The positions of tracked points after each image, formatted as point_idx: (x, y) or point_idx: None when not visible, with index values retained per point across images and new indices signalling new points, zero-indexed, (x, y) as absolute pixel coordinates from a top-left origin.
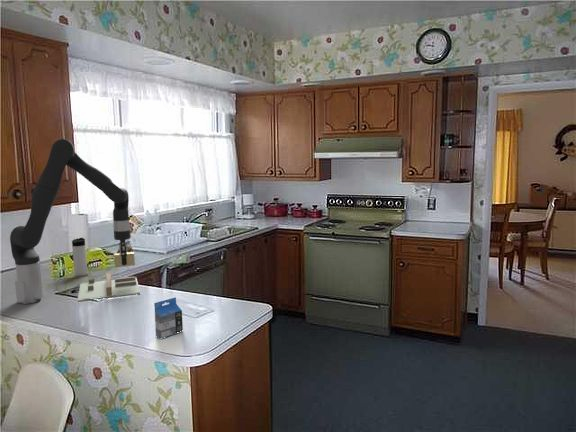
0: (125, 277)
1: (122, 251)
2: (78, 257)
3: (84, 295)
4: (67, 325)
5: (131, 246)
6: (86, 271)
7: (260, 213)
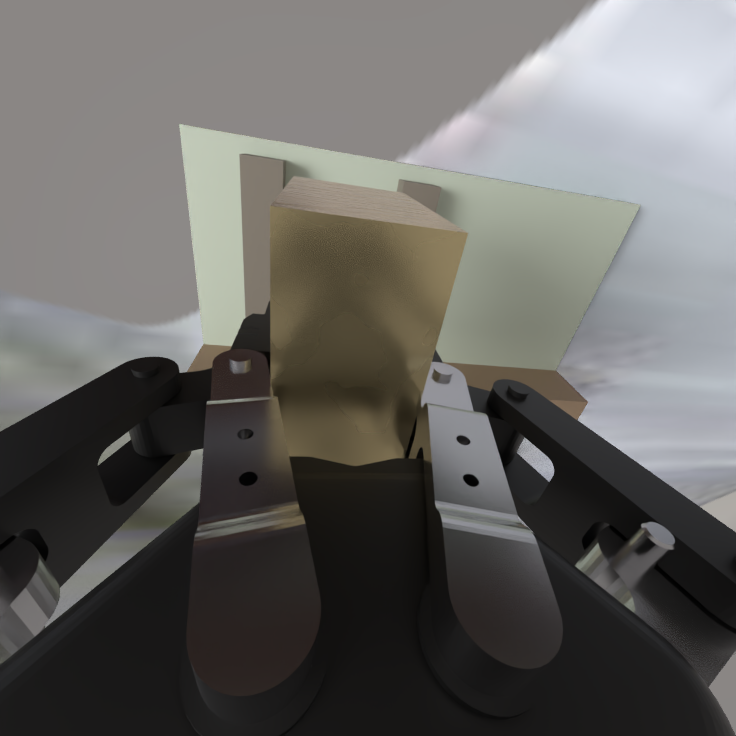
0: (249, 253)
1: (604, 524)
2: None
3: None
4: (699, 494)
5: None
6: None
7: None
